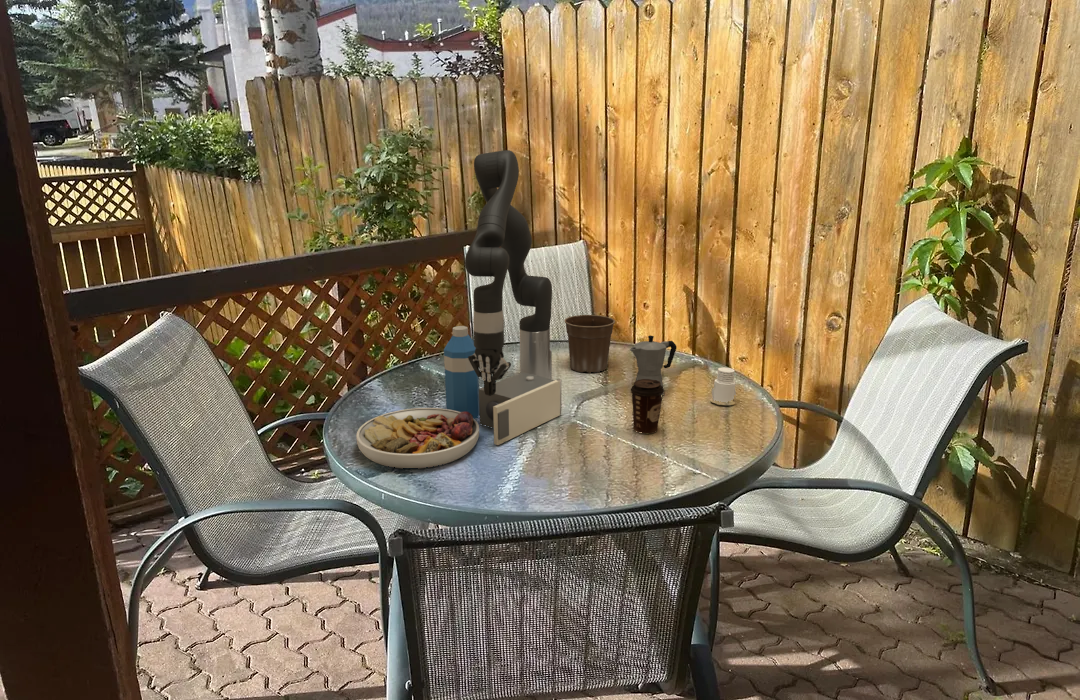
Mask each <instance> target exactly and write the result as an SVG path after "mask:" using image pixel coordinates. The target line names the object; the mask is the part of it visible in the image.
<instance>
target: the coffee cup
mask: <svg viewBox="0 0 1080 700" xmlns="http://www.w3.org/2000/svg"><path fill="white" fill-rule="evenodd" d="M663 392H664V393H665V388H664V385H663V386H661V383H660V381H657V380H651V379H641V380H637V381H636V380H635V381H634V382H633V385H632V386H631V388H630V393H631V401H632V417H633V424H632V425H633V427H632V429H634V430H635V431H634V430H633V431H634V432H636V431H637V432H636V433H638V432H642V433H651V434H654V433H656V432H657V431H658V430H659V429H658V427H659V420H660V416H661V408H662V403H663V396H662V397H661V394H663ZM655 431H656V432H655ZM642 433H641V434H642Z"/></svg>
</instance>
